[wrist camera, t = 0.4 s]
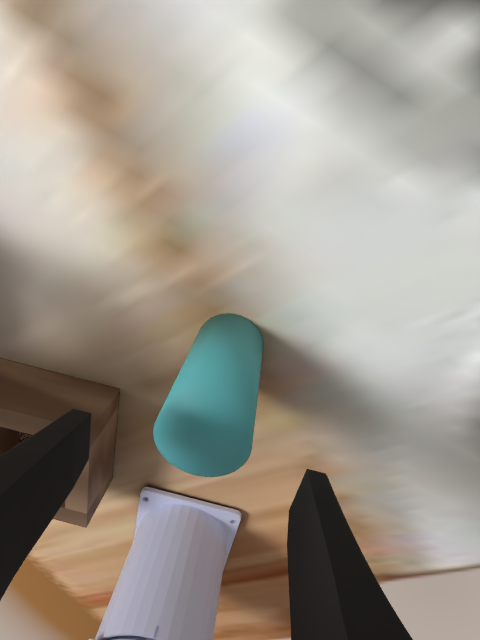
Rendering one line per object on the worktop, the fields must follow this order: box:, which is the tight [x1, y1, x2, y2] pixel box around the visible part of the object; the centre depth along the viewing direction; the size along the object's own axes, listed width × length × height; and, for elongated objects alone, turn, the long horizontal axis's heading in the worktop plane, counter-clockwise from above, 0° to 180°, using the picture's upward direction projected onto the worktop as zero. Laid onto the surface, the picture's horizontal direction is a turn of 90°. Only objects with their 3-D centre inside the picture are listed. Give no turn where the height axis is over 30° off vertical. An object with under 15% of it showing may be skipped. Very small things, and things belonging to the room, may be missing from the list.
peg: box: [153, 314, 263, 477], centre depth 18 cm, size 4×4×8 cm
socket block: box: [0, 358, 120, 527], centre depth 24 cm, size 9×9×4 cm
